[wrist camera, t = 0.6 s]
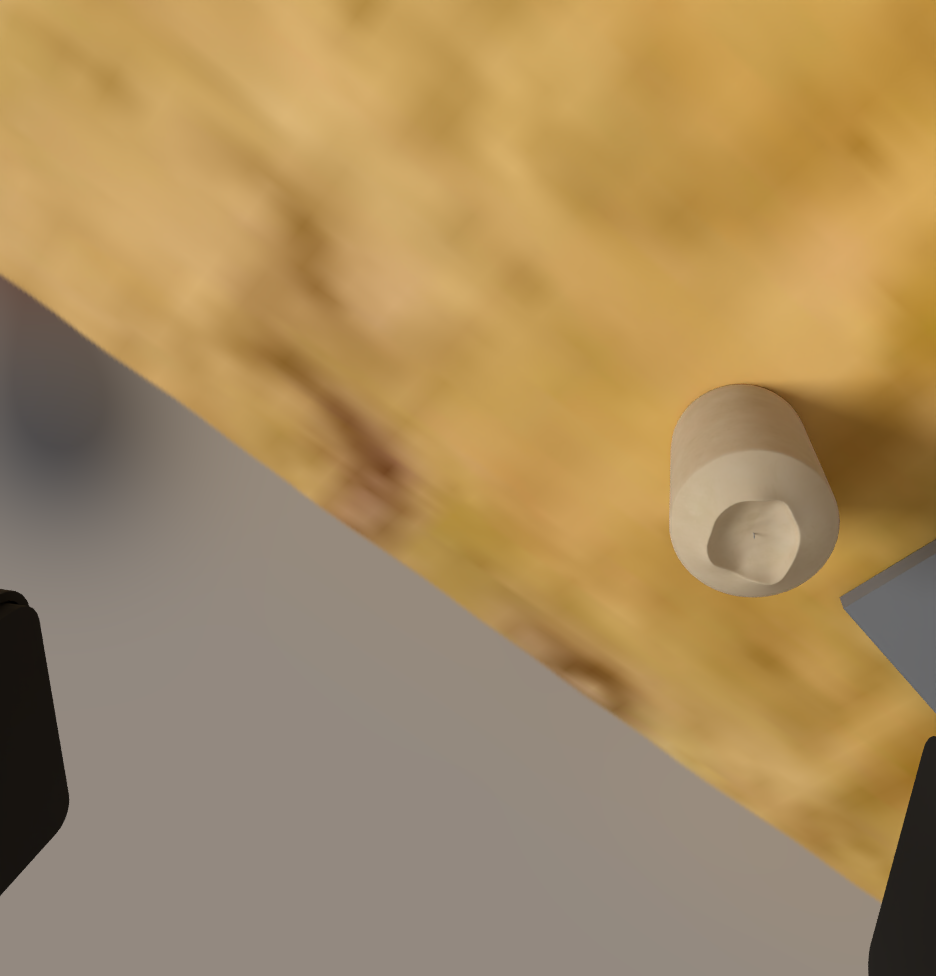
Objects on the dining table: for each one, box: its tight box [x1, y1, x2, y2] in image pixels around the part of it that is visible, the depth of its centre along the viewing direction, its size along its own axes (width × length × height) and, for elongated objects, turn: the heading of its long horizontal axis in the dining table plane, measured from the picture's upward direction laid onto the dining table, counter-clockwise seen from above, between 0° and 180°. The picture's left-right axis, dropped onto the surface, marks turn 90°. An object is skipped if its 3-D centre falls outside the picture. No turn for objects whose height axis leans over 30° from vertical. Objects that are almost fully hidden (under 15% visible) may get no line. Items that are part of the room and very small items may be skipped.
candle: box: [669, 384, 840, 597], centre depth 32 cm, size 6×6×10 cm
